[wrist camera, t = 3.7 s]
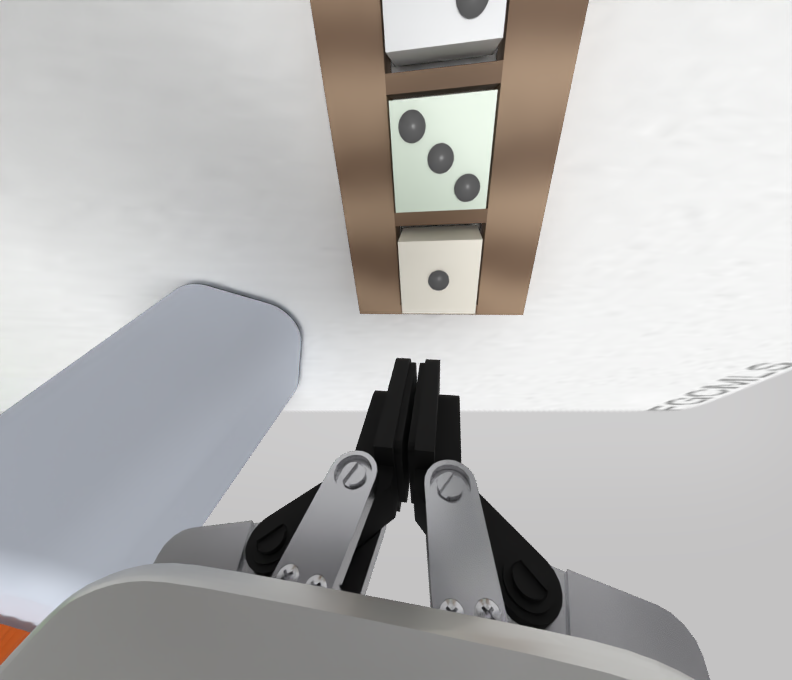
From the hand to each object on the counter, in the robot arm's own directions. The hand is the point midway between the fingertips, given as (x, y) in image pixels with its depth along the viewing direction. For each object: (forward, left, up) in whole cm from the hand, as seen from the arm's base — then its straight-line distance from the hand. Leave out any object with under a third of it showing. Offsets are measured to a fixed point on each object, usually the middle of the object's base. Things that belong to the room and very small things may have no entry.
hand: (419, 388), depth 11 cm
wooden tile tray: (-7, +1, -19) cm, 20 cm away
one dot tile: (+1, +1, -17) cm, 17 cm away
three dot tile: (-7, +1, -17) cm, 18 cm away
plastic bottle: (+12, -23, -19) cm, 32 cm away
